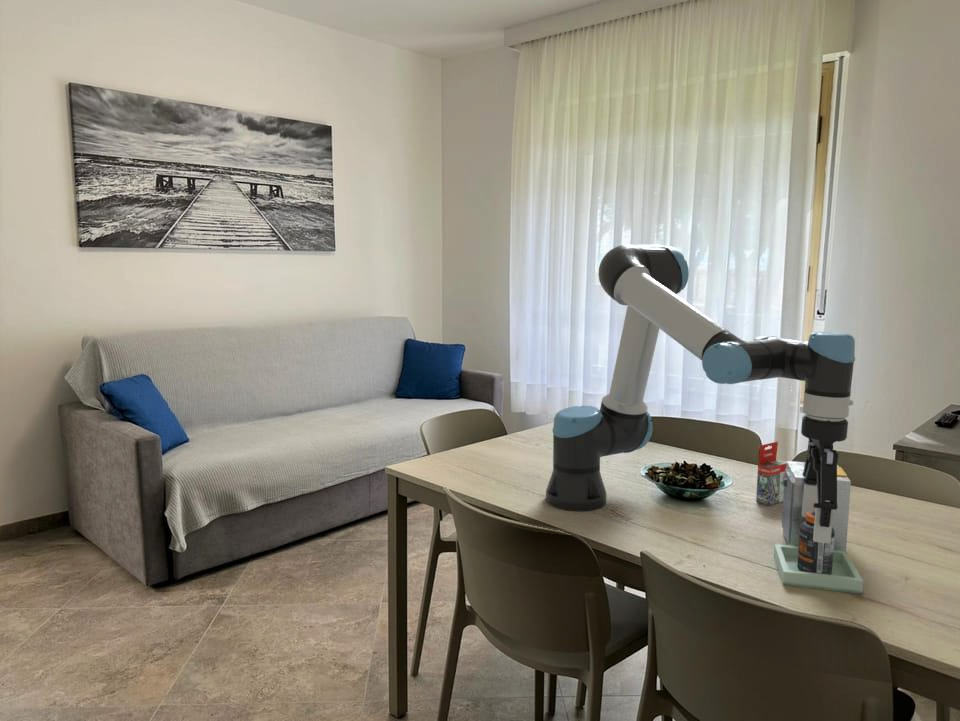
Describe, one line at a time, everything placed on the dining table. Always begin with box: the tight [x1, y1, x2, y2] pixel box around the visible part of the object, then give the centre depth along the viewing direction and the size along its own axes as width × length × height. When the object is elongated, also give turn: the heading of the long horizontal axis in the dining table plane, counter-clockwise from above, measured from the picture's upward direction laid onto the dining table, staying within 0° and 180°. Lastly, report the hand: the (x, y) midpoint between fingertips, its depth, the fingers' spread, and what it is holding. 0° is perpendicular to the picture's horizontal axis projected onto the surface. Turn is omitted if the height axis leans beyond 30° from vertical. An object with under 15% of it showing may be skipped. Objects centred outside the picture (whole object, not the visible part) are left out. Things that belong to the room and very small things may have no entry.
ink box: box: [755, 441, 787, 507], centre depth 165 cm, size 4×8×15 cm, turn 123°
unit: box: [781, 460, 852, 552], centre depth 139 cm, size 11×12×16 cm
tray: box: [773, 543, 864, 595], centre depth 126 cm, size 13×13×2 cm
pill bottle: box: [797, 511, 835, 575], centre depth 125 cm, size 6×6×11 cm
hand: (815, 529), depth 125 cm, fingers open, 12 cm apart
